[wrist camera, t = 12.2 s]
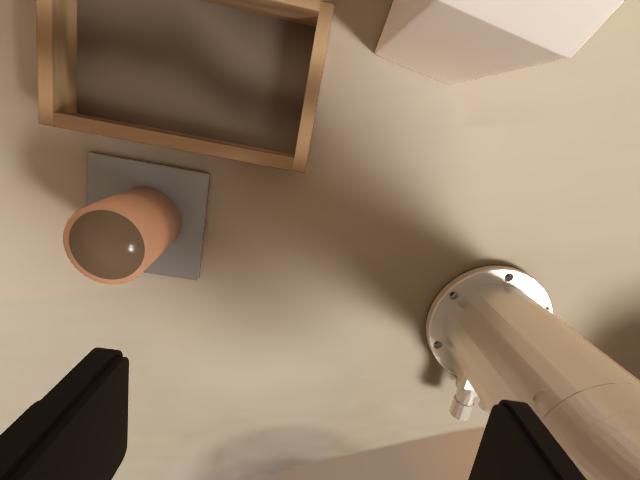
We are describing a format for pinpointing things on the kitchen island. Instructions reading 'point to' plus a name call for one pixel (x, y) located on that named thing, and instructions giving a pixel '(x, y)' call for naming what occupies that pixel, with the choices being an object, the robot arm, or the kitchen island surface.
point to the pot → (121, 234)
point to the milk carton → (487, 34)
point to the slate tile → (176, 183)
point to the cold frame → (186, 73)
